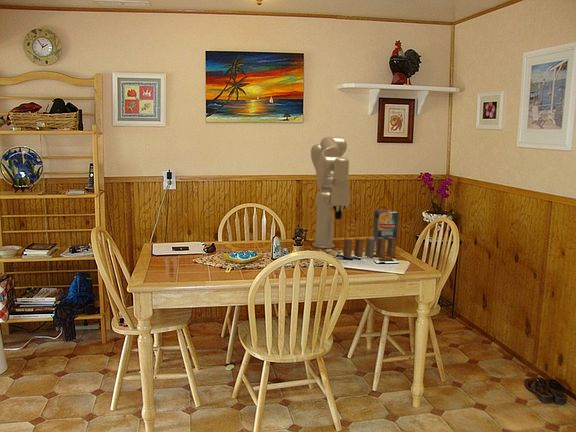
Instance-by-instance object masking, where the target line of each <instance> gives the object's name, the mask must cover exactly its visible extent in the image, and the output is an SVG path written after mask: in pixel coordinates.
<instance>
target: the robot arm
mask: <svg viewBox="0 0 576 432" xmlns="http://www.w3.org/2000/svg"><path fill="white" fill-rule="evenodd" d="M347 148H348V143H347V140H346V139H345V138H344V137H340V136H338V137H337V136H325V137H323V138H322V139H321V141H320V142H319V143H318V144H314V145H312V147H311V149H310V159H311V162H312V165H313V167H314V170H315V176H316V177H315V178H316V184H317V188H318V189H319V190H320V191H318V192H317V193H316V194H315V195H316V196H315V201H316V221H315V223H316V225H315V237H314V239H315V241H313V242H312V246H313V247H315V248H319V249H333V248H335V243H333V237H334V236H333V235H334V220H335V219H336V220H341V219H342V217H343V215H342V214H343V211H344V209H347V208H349V207H350V204H351V191H350V185H348V184H349V171H350V170H349V169H350V160H349V159H348V158H347V157H345V156H344V157H343V155H344V154H345V153H346V151H347ZM332 172H333V173H332ZM331 209H333V210H334V212H333V211H332V210H331Z"/></svg>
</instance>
